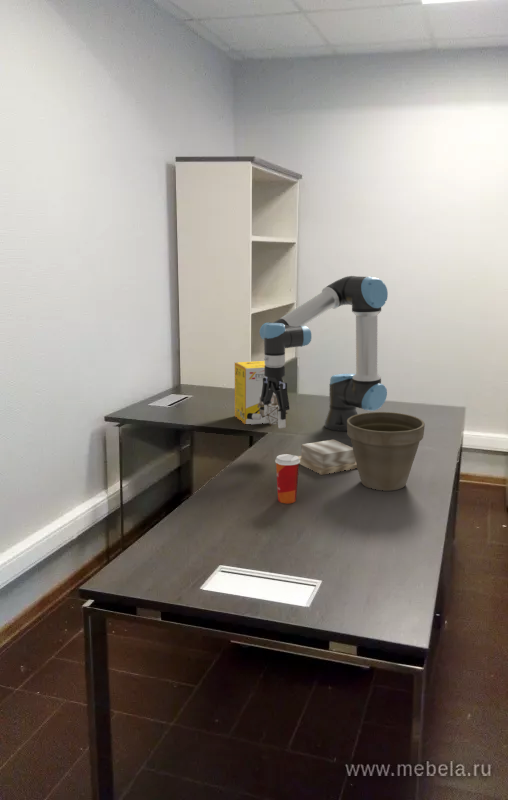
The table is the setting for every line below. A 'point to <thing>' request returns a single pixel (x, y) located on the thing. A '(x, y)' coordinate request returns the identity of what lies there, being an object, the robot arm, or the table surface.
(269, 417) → the wireframe icosahedron
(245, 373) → the packaging box
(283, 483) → the paper cup
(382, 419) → the plant pot
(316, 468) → the tower base
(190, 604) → the table surface
